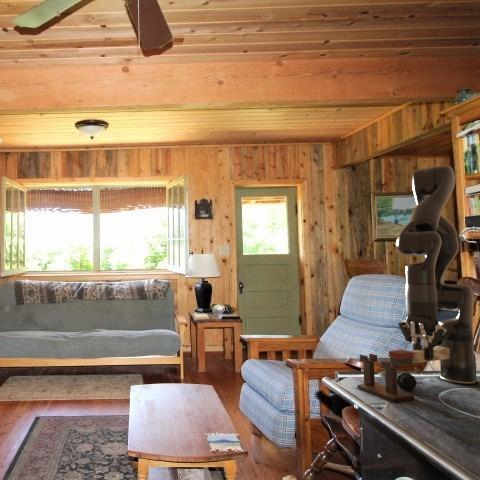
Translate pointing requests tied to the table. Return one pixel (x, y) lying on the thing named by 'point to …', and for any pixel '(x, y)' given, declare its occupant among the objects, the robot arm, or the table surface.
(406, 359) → the brush
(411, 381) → the microphone
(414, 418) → the table surface
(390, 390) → the rack
